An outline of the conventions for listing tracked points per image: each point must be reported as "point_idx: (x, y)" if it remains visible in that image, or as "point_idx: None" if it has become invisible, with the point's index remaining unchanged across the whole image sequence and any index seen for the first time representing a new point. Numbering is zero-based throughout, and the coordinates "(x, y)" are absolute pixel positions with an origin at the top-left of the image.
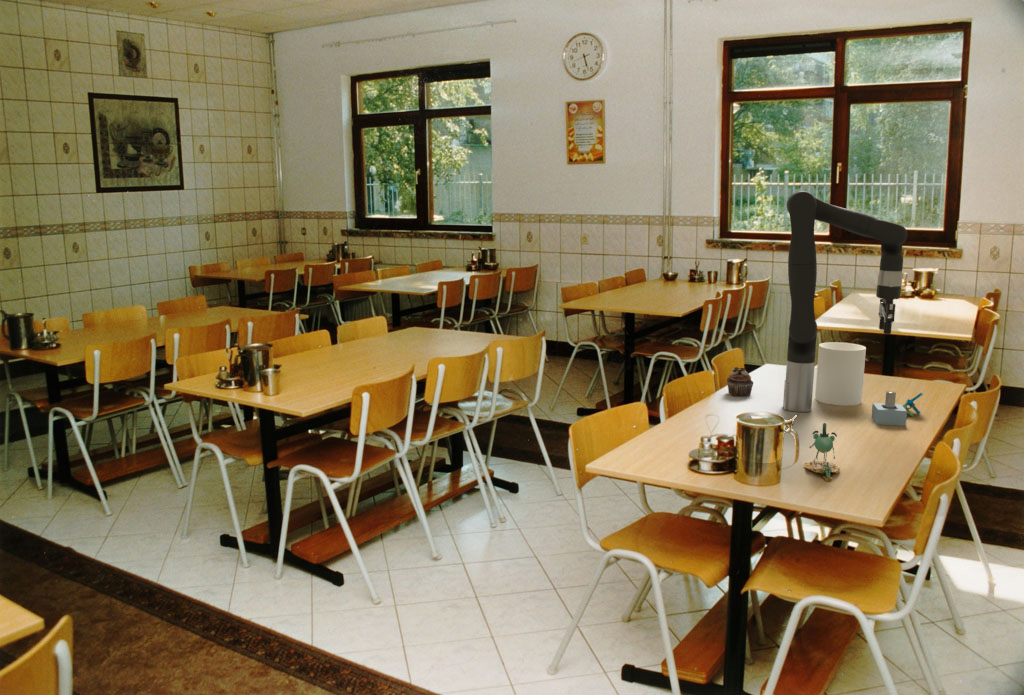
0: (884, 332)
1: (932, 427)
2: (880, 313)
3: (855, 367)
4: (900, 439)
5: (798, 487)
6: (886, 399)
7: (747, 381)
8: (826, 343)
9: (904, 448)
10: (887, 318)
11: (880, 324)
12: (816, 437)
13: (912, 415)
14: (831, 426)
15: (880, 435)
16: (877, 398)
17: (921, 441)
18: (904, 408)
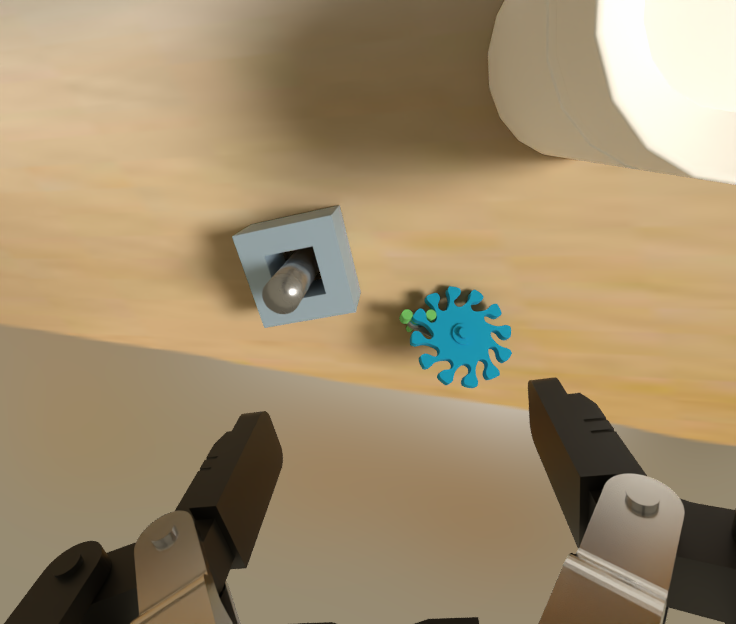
0: (242, 422)
1: (301, 371)
2: (564, 570)
3: (565, 119)
4: (120, 291)
5: None
6: (277, 272)
7: None
8: None
9: (40, 299)
10: (34, 606)
11: (548, 421)
12: None
13: (406, 329)
14: (130, 68)
15: (125, 238)
16: (660, 218)
17: (137, 339)
18: (298, 321)
